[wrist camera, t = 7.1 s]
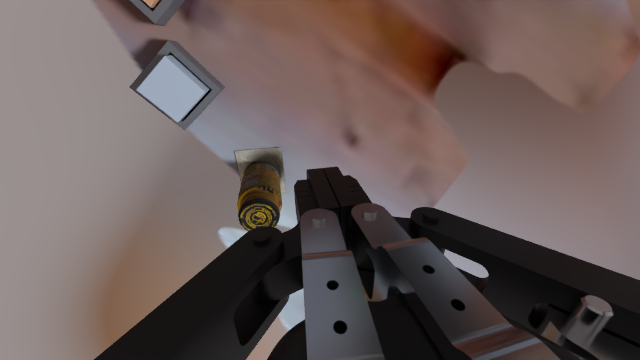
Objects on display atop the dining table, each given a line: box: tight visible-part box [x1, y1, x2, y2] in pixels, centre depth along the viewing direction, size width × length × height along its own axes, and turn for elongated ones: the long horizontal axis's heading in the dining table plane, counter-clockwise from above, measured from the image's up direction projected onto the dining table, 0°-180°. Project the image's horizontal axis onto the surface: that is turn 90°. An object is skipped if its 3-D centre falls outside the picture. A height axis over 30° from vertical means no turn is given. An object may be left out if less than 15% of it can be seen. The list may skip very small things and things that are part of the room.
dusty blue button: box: [137, 55, 210, 123], centre depth 32 cm, size 5×5×3 cm
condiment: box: [235, 148, 286, 231], centre depth 38 cm, size 7×8×12 cm
